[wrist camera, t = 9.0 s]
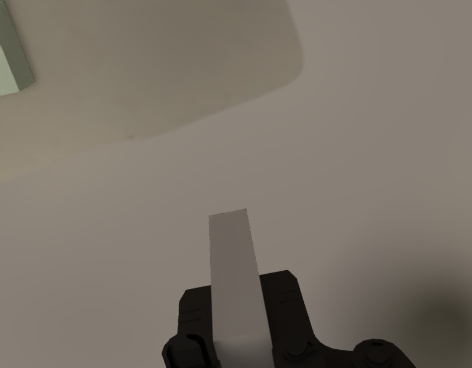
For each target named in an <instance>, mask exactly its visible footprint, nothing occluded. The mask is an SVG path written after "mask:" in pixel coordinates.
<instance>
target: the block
mask: <svg viewBox="0 0 472 368" xmlns="http://www.w3.org/2000/svg"><path fill="white" fill-rule="evenodd" d="M33 82H35V81H34V78H33V76H32V73H31V71H30V68H29V66H28V63H27V60H26V58H25V55H24V53H23V50H22V47H21V45H20V42H19V40H18V37H17V34H16V32H15V29H14V27H13V24H12V21H11V19H10V16H9V14H8V11H7V8H6V6H5V3H4V1H3V0H0V96H1V95H6V94H11V93H16V92H20V91H21V90H23V89H24V88H26V87H27V86H29V85H30V84H32V83H33Z"/></svg>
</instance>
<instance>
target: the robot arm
mask: <svg viewBox="0 0 472 368" xmlns="http://www.w3.org/2000/svg"><path fill="white" fill-rule="evenodd" d="M209 235H210V265H211V285H209V286H204V287H198V288H193V289H188V290H186V291H185V293H184V294H183V296H182V298H181V299H180V301H179V316H178V332H177V334H176V335H175V336H174V337H172V338H171V339H169V341H168V342H167V343H166V344H165V345H164V348H163V351H162V356H163V359H164V362H165V365H166V368H416V367H415V366H414V365H413V363H412V362H411V361H410V360H409V359H408V358H407V357H406V356H405V354H404V353H403V352H402V351H401V350H400V349H399V348H398V347H397V346H395V345H394V344H393V343H390V342H388V341H385V340H382V339H370V340H365V341H362V342H361V343H359V344H358V345H356V347H355V348H354V350H353V351H346V350H338V349H332V348H330V347H328V346H325V345H324V344H322V343H321V342H320V341H319V340H318V339H317V338H316V337H315V335H314V333H313V329H312V326H311V323H310V320H309V317H308V313H307V310H306V307H305V304H304V301H303V297H302V294H301V291H300V288H299V284H298V281H297V278H296V277H295V276H294V275H293V274H291V273H290V272H289V271H288V270H284V271H279V272H274V273H269V274H263V275H259V273H258V268H257V263H256V257H255V252H254V247H253V242H252V237H251V231H250V226H249V221H248V215H247V210H246V209H242V210H236V211H232V212H226V213H221V214H215V215H210V216H209Z"/></svg>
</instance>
